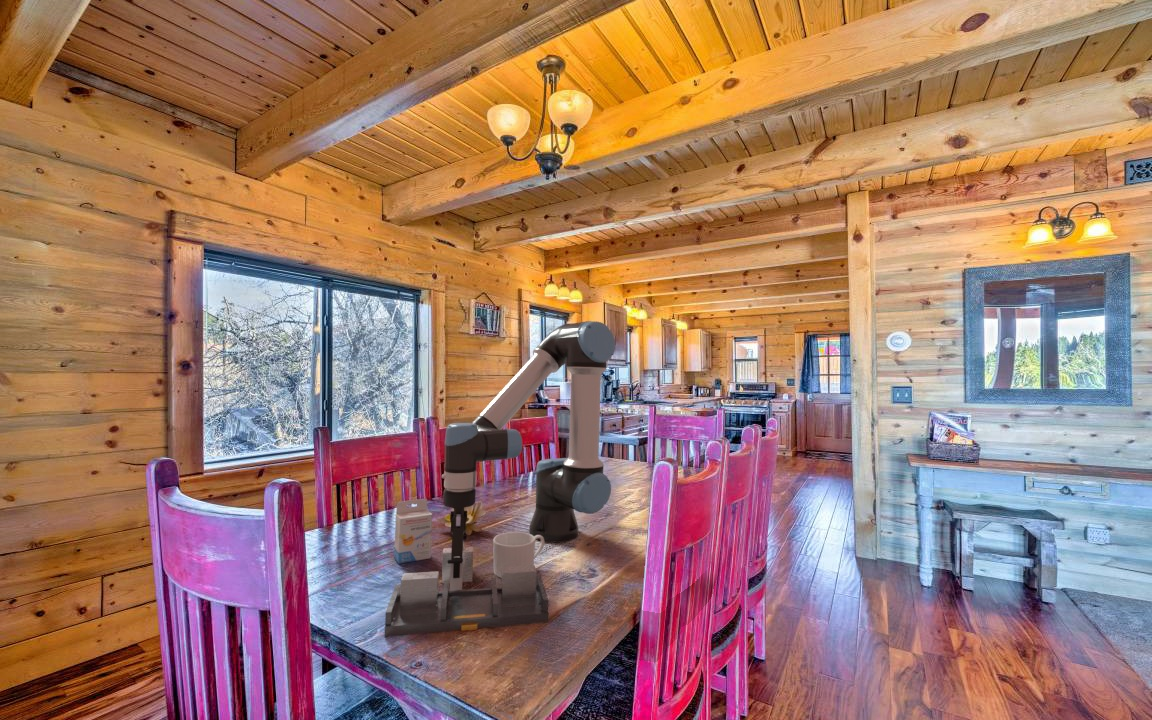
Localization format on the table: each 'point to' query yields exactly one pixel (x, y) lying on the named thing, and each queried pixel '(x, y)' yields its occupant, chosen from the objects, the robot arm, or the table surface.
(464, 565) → the panel
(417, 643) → the table surface
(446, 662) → the table surface
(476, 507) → the decorative flower
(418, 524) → the ink box
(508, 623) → the rack
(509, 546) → the mug
